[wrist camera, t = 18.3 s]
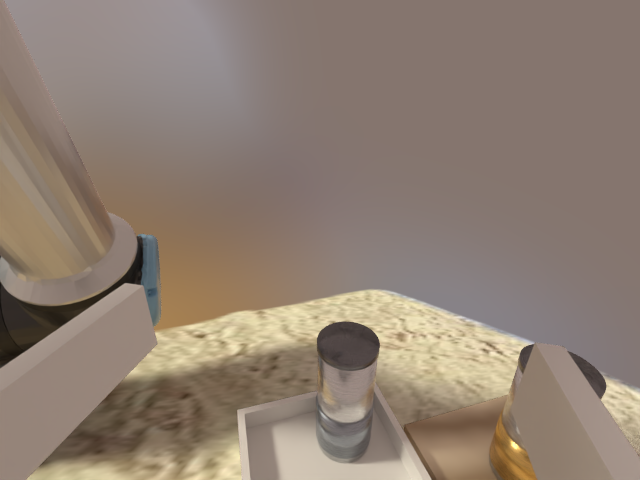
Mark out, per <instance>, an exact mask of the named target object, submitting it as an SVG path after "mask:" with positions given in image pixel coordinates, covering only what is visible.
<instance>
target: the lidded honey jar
mask: <svg viewBox="0 0 640 480" xmlns="http://www.w3.org/2000/svg"><path fill="white" fill-rule="evenodd" d="M533 346H534V344H532V345H528V346H526V347H524V348H523V349H522V350H521V353H520V356H519V359H518V366H517V370H516V373H515V376H514V379H513V382H512V385H511V388H510V391H509V394H508V397H507V401H506V404H505V407H504V408H503V409H502V411H501V413H500V417H499V420H498V423H497V426H496V429H495V432H494V435H493V438H492V442H491V445H490V449H489V463H490V467H491V469H492V472H493V473H494V475H495V477H496V478H497V480H537V478H536V475H535V472H534V470H533V467H532V464H531V462H530V459H529V456H528V453H527V451H526V448H525V445H524V443H523V440H522V437H521V435H520V432H519V429H518V427H517V424H516V421H515V419H514V416H513V413H512V411H511V406H512V403H513V400H514V398H515V395H516V392H517V389H518V387H519V384H520V381H521V379H522V376H523V373H524V371H525V368H526V365H527V363H528V360H529V357H530V354H531V352H532V349H533ZM567 352H568V353H569V354H570V356H571V357H572V359H573V360H574V362H575V363H576V365H577V366H578V368H579V369H580V371H581V372H582V374H583V375H584V376H585V378H586V379H587V381H588V382H589V384H590V385H591V387H592V388H593V390H594V391H595V393H596V394H597V396H598V397H599V398H600V400H601V399H602V397H603V395H604V393H605V390H606V382H605V380H604V378H603V376H602V375H601V374H600V372H599V371H598V370H597V369H596V368H595V367H594V366H592V365H591V364H590V363H588V362H587V361H586V360H584V359H583V358H581V357H579V356H577V355H576V354H573V353H571V352H569V351H567Z"/></svg>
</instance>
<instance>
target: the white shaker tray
mask: <svg viewBox="0 0 640 480" xmlns="http://www.w3.org/2000/svg"><path fill="white" fill-rule="evenodd" d="M317 392H318V391H313V392H309V393H305V394H301V395H297V396H293V397H288V398H284V399H280V400H276V401H272V402H267V403H263V404H259V405H255V406H251V407H247V408H242V409H238V410H237V417H238V431H239V445H240V459H241V473H242V480H432V479H431V478H430V476H429V474H428V472H427V471H426V469H425V467H424V465H423V464H422V462H421V460H420V458H419V457H418V455H417V453H416V451H415V450H414V448H413V446H412V445H411V443H410V441H409V439H408V438H407V436H406V434H405V432H404V431H403V429H402V427H401V425H400V424H399V422H398V420H397V418H396V417H395V415H394V413H393V412H392V410H391V408H390V406H389V405H388V403H387V401H386V399H385V398H384V396H383V394H382V392H381V391H380V389H379V387H378V385H377V384H376V382H375V386H374V396H373V399H374V410H373V419H372V429H371V438H370V442H369V445H368V448H367V450H366V452H365V454H364V455H363V456H362V457H361V458H360V459H359V460H357V461H355V462H352V463H338V462H335V461H332V460H331V459H329V458H328V457H326V456H325V455H324V454H323V452H322V451H321V449H320V448H319V445H318V441H317V437H316V396H317Z"/></svg>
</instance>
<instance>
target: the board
mask: <svg viewBox="0 0 640 480" xmlns="http://www.w3.org/2000/svg"><path fill="white" fill-rule="evenodd" d="M507 397H508V395H505V396H502V397H499V398H495V399H492V400H488V401H485V402H482V403H478V404H475V405H471V406H468V407H464V408H461V409H458V410H454V411H451V412H447V413H444V414H440V415H437V416H434V417H430V418H427V419H423V420H420V421H416V422H413V423H410V424H406V425H405V427H404V432H405V434H406V436H407V438H408V439H409V441H410V443H411V445H412V446H413V448H414V450H415V451H416V453H417V455H418V457H419V458H420V460H421V462H422V464H423V465H424V467H425V469H426V471H427V472H428V474H429V476H430V478H431V479H432V480H497V478H496V477H495V475H494V473H493V472H492V469H491V467H490V463H489V449H490V445H491V442H492V438H493V435H494V432H495V429H496V426H497V423H498V420H499V417H500V413H501V411H502V409H503V408H504V407H505V404H506V401H507Z"/></svg>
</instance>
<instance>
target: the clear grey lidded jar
mask: <svg viewBox="0 0 640 480" xmlns="http://www.w3.org/2000/svg"><path fill="white" fill-rule="evenodd" d="M379 347H380V343H379V339H378V337H377V335H376V334H375V333H374V332H373V331H372V330H371V329H369V328H368V327H366V326H364V325H361V324H358V323H354V322H337V323H333V324H330V325H328V326H326V327H325V328H324V329H322V330H321V332H320V333H319V335H318V338H317V351H318V392H317V396H316V437H317V441H318V445H319V448H320V449H321V451H322V452H323V454H324V455H325V456H326V457H328V458H329V459H331V460H332V461H335V462H338V463H352V462H355V461H357V460H359V459H360V458H361V457H362V456H363V455H364V454H365V452H366V450H367V448H368V445H369V442H370V438H371V429H372V419H373V410H374V399H373V396H374V386H375V376H376V366H377V358H378V355H379Z"/></svg>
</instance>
